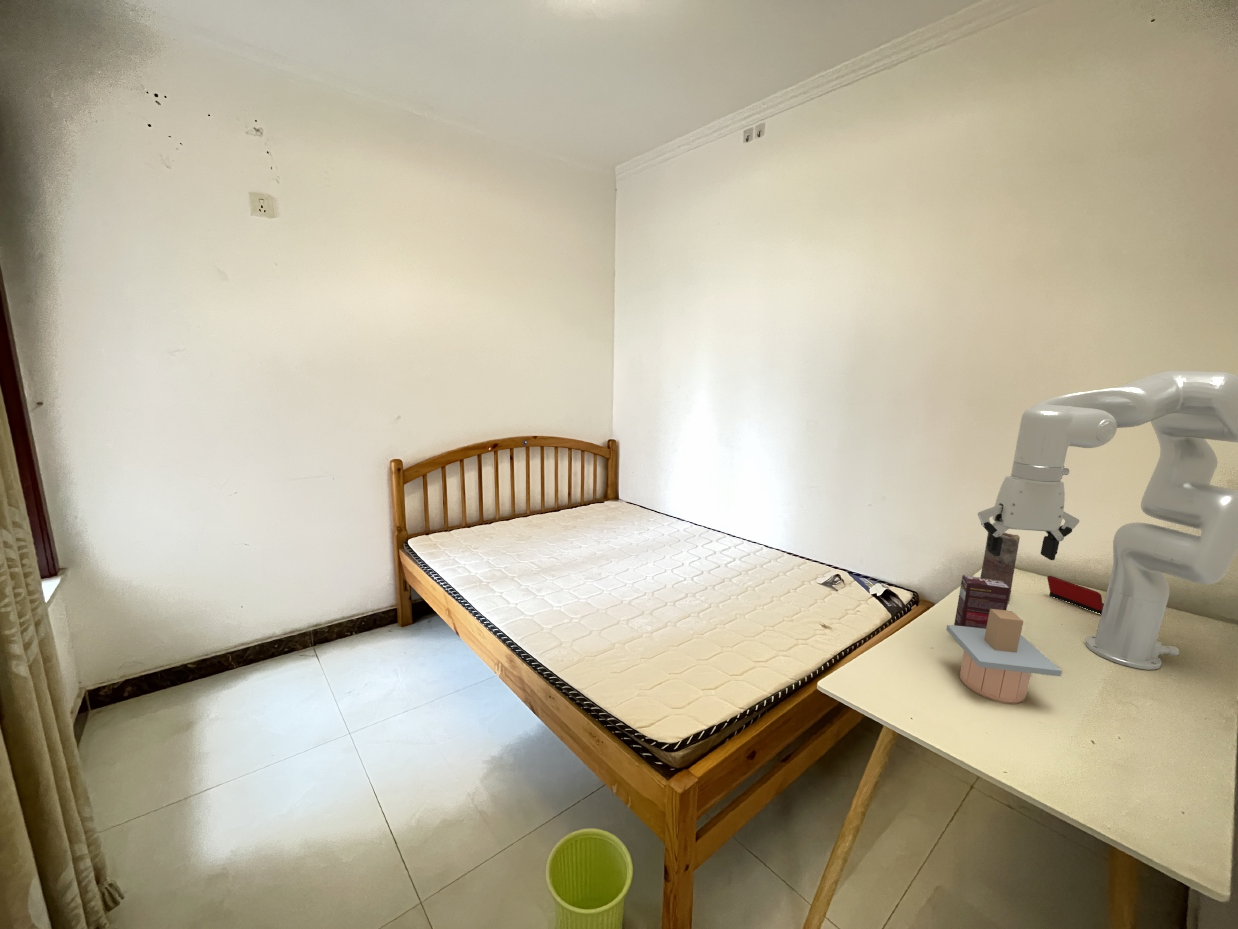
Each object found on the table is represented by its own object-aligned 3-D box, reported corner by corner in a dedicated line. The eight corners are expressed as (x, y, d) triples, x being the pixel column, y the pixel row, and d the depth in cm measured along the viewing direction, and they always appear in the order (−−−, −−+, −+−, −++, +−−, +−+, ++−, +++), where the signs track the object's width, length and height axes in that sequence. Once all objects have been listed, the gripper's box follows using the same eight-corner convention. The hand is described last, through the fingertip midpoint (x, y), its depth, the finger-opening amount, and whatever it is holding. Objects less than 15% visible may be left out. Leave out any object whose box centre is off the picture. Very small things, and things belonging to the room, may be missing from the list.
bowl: (1006, 673, 108) (1013, 640, 107) (1037, 707, 98) (1046, 670, 96) (950, 666, 110) (956, 634, 109) (975, 699, 100) (982, 663, 98)
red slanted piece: (1117, 612, 138) (1123, 587, 136) (1094, 619, 134) (1100, 593, 132) (1063, 592, 149) (1069, 569, 148) (1041, 598, 145) (1046, 574, 144)
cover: (1016, 637, 108) (1024, 602, 106) (1060, 676, 94) (1069, 637, 93) (946, 629, 110) (952, 595, 109) (978, 667, 97) (986, 628, 95)
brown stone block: (970, 592, 147) (982, 528, 143) (993, 592, 148) (1006, 528, 144) (991, 605, 140) (1004, 537, 135) (1015, 604, 140) (1029, 537, 136)
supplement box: (991, 640, 121) (1004, 579, 118) (999, 651, 117) (1012, 588, 114) (950, 633, 124) (961, 574, 121) (956, 643, 120) (968, 582, 116)
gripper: (1073, 470, 99) (1056, 552, 102) (976, 466, 102) (963, 545, 105) (1102, 479, 92) (1082, 566, 95) (997, 474, 94) (982, 559, 98)
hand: (1020, 555), depth 100 cm, fingers open, 9 cm apart
